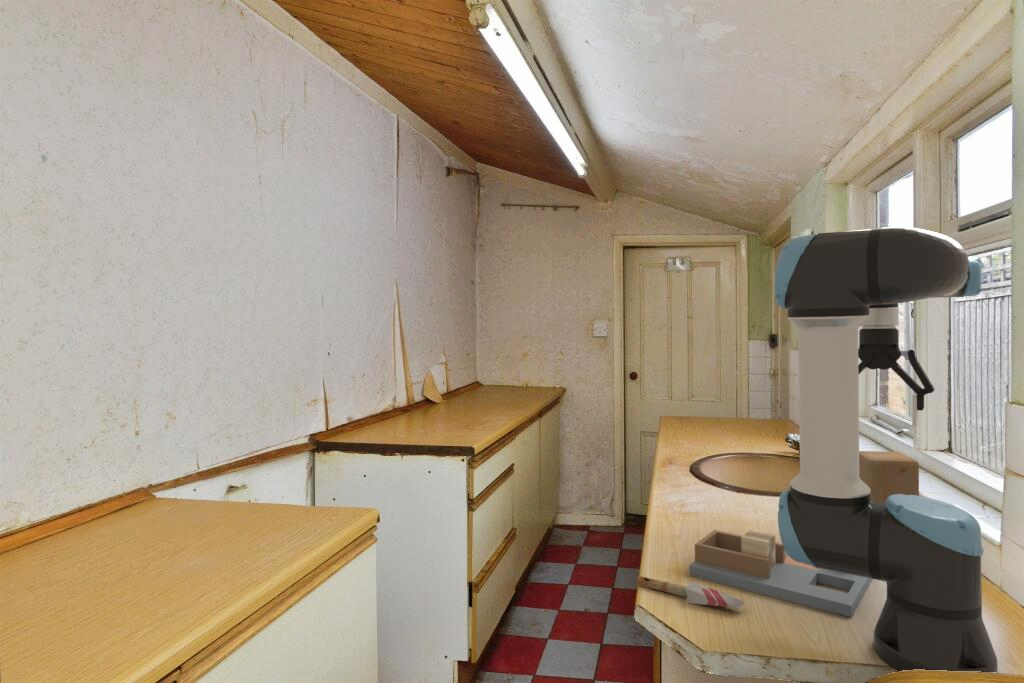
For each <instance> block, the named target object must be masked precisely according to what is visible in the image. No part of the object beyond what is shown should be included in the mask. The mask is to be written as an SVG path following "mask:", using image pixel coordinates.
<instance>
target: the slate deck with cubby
mask: <svg viewBox="0 0 1024 683" xmlns="http://www.w3.org/2000/svg"><path fill="white" fill-rule="evenodd" d="M742 536H743V535H739V534H735V533H732V532H731V533H729V532H726V531H725V532H724V531H720V530H716V529H715V530H713V531H711V532H710V533H709V534H707V535H705V536H704V537H703V538H702V539H700V540H699V541H698V542H696V543H694V561H693V562H692V563H691V564H690V565H689V576H691V577H696V578H698V579H703V580H707V581H709V582H714V583H717V584H722V585H725V586H729V587H730V586H731V587H733V588H737V589H741V590H746V591H748V592H753V593H757V594H761V595H764V596H768V597H771V598H775V599H778V600H779V599H780V600H784V601H788V602H790V603H795V604H798V605H803V606H807V607H809V608H814V609H818V610H822V611H825V612H830V613H832V614H837V615H841V616H846V617H848V618H853V616H854V615H855V612H856V611H857V609H858V607H859V605H860V604H861V602H862V600H863V598H864V596H865V594H866V592H867V590H868V588H869V586H870V584H871V582H872V581H873V579H871V578H866V577H862V576H857V575H852V574H847V573H842V572H838V571H833V570H828V569H823V568H822V569H818V568H815V567H813V566H811V565H807V564H804V563H800V562H797V561H795V560H793V559H792V558H791V557H790V556H789V555H788V554H787V552H786V551H785V549H784V547H783V544H782V543H779V542H775V560H776V565H775V566H774V567H773V568H772V569H771V570H770V559H767V558H763V557H758V556H754V555H749V554H745V553H741V537H742ZM817 584H821V585H824V586H829V587H833V588H837V589H842V590H846V591H848V592H847V593H846V592H842V591H838V590H834V589H830V588H826V587H822V586H817Z"/></svg>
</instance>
